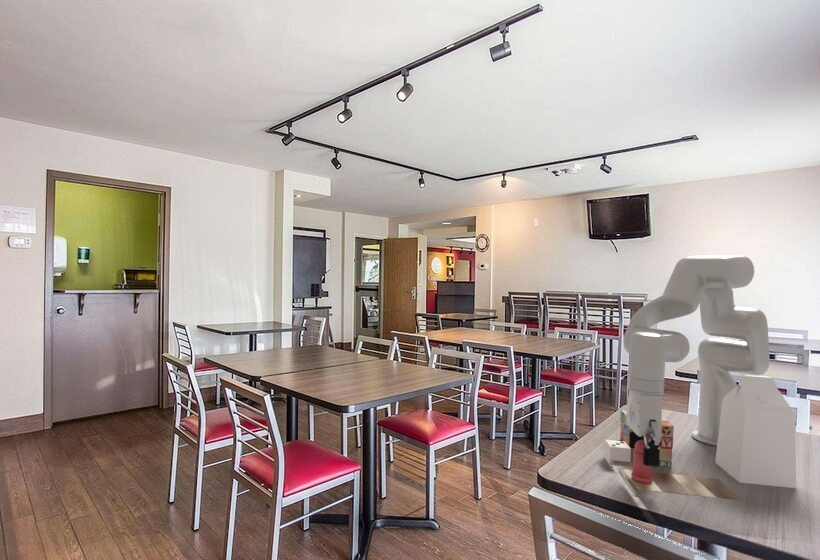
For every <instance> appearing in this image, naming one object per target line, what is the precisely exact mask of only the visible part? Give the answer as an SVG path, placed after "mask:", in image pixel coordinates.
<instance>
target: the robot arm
mask: <svg viewBox="0 0 820 560" xmlns="http://www.w3.org/2000/svg"><path fill="white" fill-rule="evenodd" d="M754 276H755V266H754V263H753V261H752V260H751V259H750V258H749V257H747V256H746V255H745V256H744V255H691V256H686V257H683V258H681V259H679V260H678V261H677V262H676V264H675V266H674V268H673V270H672V273H671V275H670V277H669V279H668V282H667V284H666V286H665V288H664V291H663V294H662V295H660V296H659V297H655V299H652V300H651V301H650V302H648V303H646V304H645V305H643V306H642V307H640V308H639V309H637V311H636V312H635V313H634V314H633V315H632V317H631V319H630V321H629V324H628V325H627V328H626V330H625V332H624V335H623V343H622V344H623V348H624V350H625V351H626V352H627V354H628V355H629V356H628V378H627V381H628V382H627V389H628V397H627V405H626V406H627V407H626V411H627V415H626V423H627V425H628V426H629V429H630V431H632V432H630V433H629V447H630V448H632V449H631V450H633V449H635V443H636V442H637V441H639V440H644V441H645V446H646V447H644V452H643V464H644V465H646V466H652V467H660V466H659V455H660V445H661V438H662V435H661V429H662V417H663V413H662V411H663V410H662V395H664V394H665V375H666V373H665V372H666V371H665V370H666V369H665V368H666V363H679V362H681V361H683V360H684V359H686V357H687V356H688V355H689V353H690V342H689V339H688V337H686V335H684V334H683V333H681V332H679V331H674V330H665V329H660V328H659V329H657V328H652V327H653V326H654V325H656V324H658V323H659V324H660V323H662V322H665V321H669V320H673V319H674V320H675V319H678V318H682V317H685V316H689V315H691V314H693V313H695V312H696V311H697V310H698V307H699V311H700V312H699V313H700V324H701V328H702V331H703V332H704V333H705V334H706V335H708V336H712V337H710V338H705V339H703V340H701V341H700V343H699V345H698V346H697V347H698V348H697V354H698V355H697V356H698V360H699V369H700V373H699V374H700V377H699V378H700V379H699V380H700V382H699V386H700V387H699V402H698V403H699V404H698V423H697V424H698V427H697V429H696V430H693V431H692V432H691V435H692V438H694V439H695V440H697V441H699V442H701V443H703V444H707V445H710V446H713V447H717V443H718V434H719V426H720V417H721V409H722V402H723V399H724V397H725V396H726V395H727V394H728V393H729V392H731V391H732V390H733V389H734V388H735V387H737V386H738V384H737V381H736V379H735V378H734V377H733V375H732V374H731V373H739V374H743V375H754V376H764V375H765V374H766V373H767V372H768V370H769V367H770V342H769V341H770V340H769V325H768V319H767V316H766V315H765V313H764V311H762V310H761V309H758V308H755V307H747V306H746V307H745V306H737V305H735V301H734V300H735V299H734V291H733V289H739V288H745V287H747V286H748V285H750V284H751V282H752V280H753V279H754ZM730 372H731V373H730ZM646 433H652V434H646ZM648 438H651V441H650V442H649V440H648Z"/></svg>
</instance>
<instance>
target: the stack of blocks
mask: <svg viewBox="0 0 820 560" xmlns="http://www.w3.org/2000/svg"><path fill="white" fill-rule="evenodd" d="M626 415H627V410H622V409H621V410H620V439H621V440H622V441H625V442H626V443H627V445H628V446H629V433H630V432H632V431H630V429H629V426H628V425H627V423H626ZM674 430H675V426H674V425H673V424H672V423H670V421H669V420H668V419H666V418H665V417H663V416H662V429H661V435H662V438H661V445H660V455H659V466H658V467H669V468H670V467H671V468H672V465H673V461H672V460H673V447H674ZM646 434H652V433H646ZM621 440H620V441H621ZM648 440H649V442H650V441H651V438H648ZM631 450H633V451H634V450H635V449H632V448H631Z"/></svg>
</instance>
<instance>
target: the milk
mask: <svg viewBox="0 0 820 560" xmlns="http://www.w3.org/2000/svg"><path fill="white" fill-rule="evenodd" d="M796 452H797V451H796V417H795V413H794V411H793V409H792V407H791V405H790V404H789V403H788V401H787V400H786V399H785V397H784V396H783V394H782V393H781V391H780V390H779V388H778V386H777V384H776V382H775V380H774V378H773V377H772V376H766V375H750V374H743V375H742V376H741V378H740V380H739V382H738V384H737V387H735V388H734V389H733V390H732V391H731V392H729V393H728V394H727V395H726V396H725V397H724V399H723V402H722V409H721V417H720V426H719V434H718V443H717V446H716V452H715V453H716V454H715V461H714V462H715V464H716V465H717V466H719V467H720V468H721V469H722V470H724V471H725V472H726V473H727V474H728V475H730V476H731V477H732V478H733V479H735V481H737V482H738V483H742V484H751V485H760V486H771V487H778V488H780V487H781V488H790V489H797V469H796V468H797V466H796V465H797V464H796V463H797V462H796V460H797V457H796V456H797V455H796Z"/></svg>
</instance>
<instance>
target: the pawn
mask: <svg viewBox="0 0 820 560" xmlns="http://www.w3.org/2000/svg"><path fill="white" fill-rule="evenodd" d="M644 447H646V446H645V441H644V440H639V441H637V442H636V443H635V450H633V452H632V453H633V455H632V456H633V457H632V458H633V459H632V470H633V471H632V476H631V478H632V480H634V481H636V482H638V483H641V484H651V483H652V480H653V477H652V472H653V466H646V465H644V464H643V452H644Z"/></svg>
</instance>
